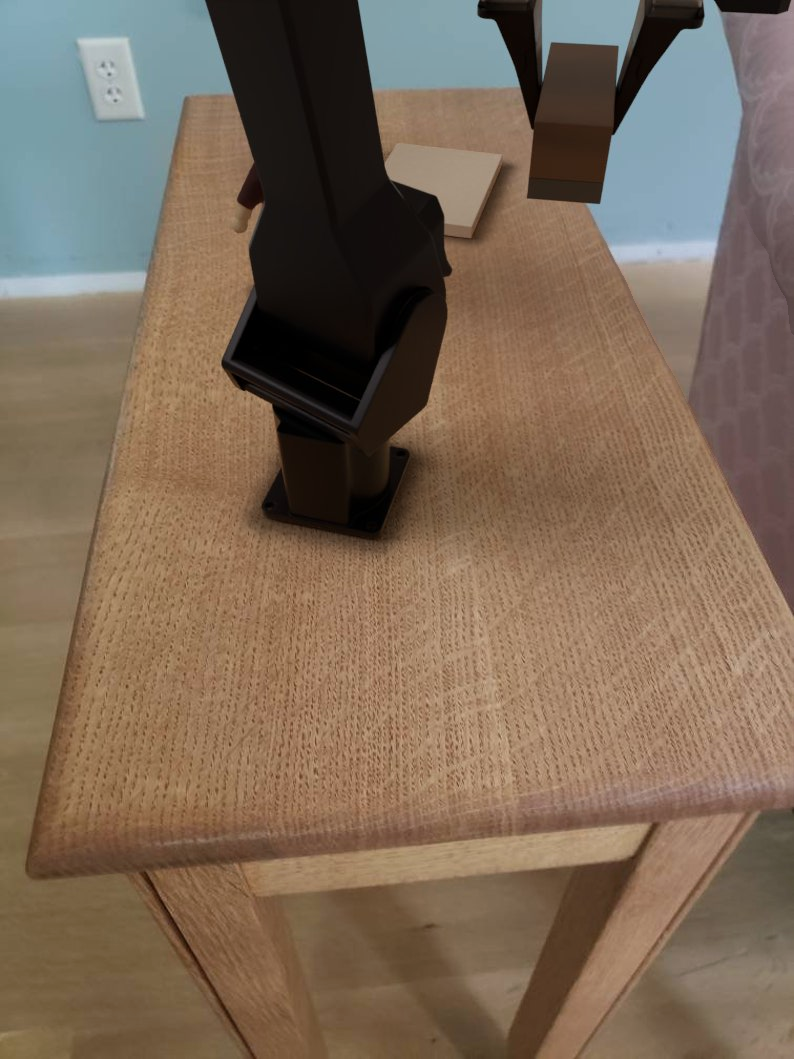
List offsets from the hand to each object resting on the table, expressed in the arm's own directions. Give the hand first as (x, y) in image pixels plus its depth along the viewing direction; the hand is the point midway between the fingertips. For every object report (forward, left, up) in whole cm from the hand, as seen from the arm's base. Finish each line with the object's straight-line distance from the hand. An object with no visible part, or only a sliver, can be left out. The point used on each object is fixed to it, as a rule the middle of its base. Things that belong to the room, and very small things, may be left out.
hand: (573, 129), depth 49 cm
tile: (+12, +11, -11) cm, 20 cm away
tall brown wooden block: (0, 0, -2) cm, 2 cm away
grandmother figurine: (-3, +17, -12) cm, 21 cm away
